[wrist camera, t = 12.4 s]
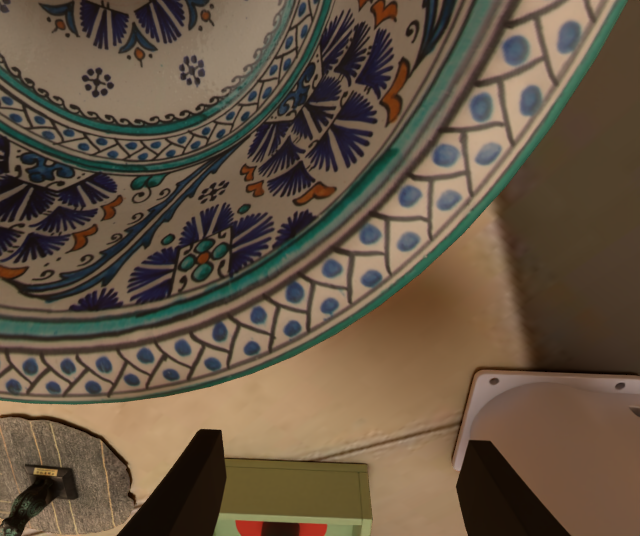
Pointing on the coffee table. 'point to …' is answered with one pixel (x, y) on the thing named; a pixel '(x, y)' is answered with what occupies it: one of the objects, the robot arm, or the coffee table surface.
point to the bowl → (249, 171)
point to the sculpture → (59, 480)
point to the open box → (296, 495)
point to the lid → (279, 528)
